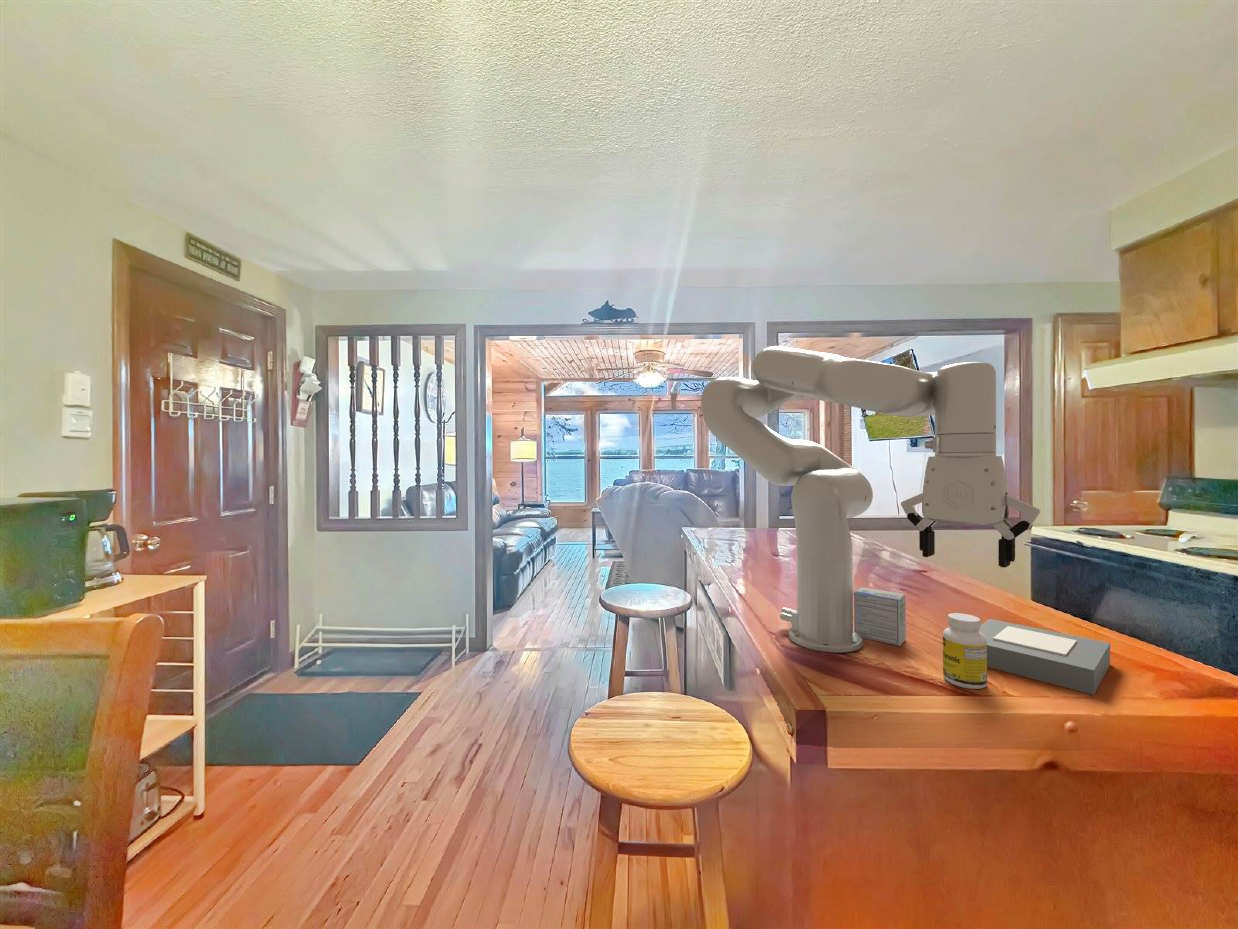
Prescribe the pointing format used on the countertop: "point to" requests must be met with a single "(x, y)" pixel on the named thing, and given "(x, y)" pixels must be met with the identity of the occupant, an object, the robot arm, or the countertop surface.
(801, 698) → the countertop surface
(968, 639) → the supplement bottle
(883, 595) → the medicine box
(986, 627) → the plate
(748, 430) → the robot arm
